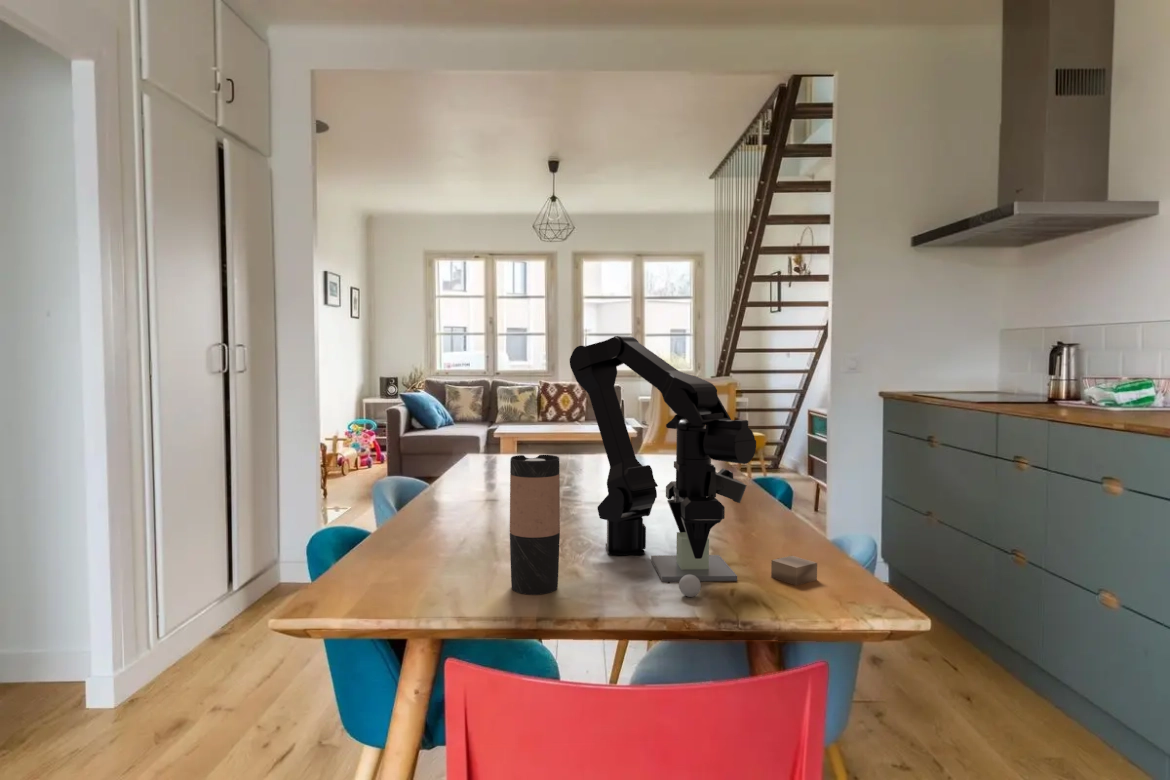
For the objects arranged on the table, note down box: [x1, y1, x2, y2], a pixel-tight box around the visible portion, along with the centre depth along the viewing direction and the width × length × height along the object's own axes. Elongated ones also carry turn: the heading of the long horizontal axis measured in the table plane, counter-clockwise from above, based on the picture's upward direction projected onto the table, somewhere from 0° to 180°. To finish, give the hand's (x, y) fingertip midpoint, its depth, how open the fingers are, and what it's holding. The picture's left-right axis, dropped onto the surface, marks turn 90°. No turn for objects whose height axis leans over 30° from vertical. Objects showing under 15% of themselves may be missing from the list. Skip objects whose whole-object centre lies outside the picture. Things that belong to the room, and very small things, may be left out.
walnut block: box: [770, 555, 818, 586], centre depth 115 cm, size 5×5×3 cm
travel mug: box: [509, 454, 561, 596], centre depth 109 cm, size 8×8×20 cm
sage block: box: [675, 531, 710, 569], centre depth 119 cm, size 4×4×5 cm
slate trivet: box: [650, 554, 738, 583], centre depth 119 cm, size 12×12×1 cm
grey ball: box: [678, 575, 702, 598], centre depth 106 cm, size 3×3×3 cm
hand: (692, 550), depth 119 cm, fingers open, 9 cm apart
